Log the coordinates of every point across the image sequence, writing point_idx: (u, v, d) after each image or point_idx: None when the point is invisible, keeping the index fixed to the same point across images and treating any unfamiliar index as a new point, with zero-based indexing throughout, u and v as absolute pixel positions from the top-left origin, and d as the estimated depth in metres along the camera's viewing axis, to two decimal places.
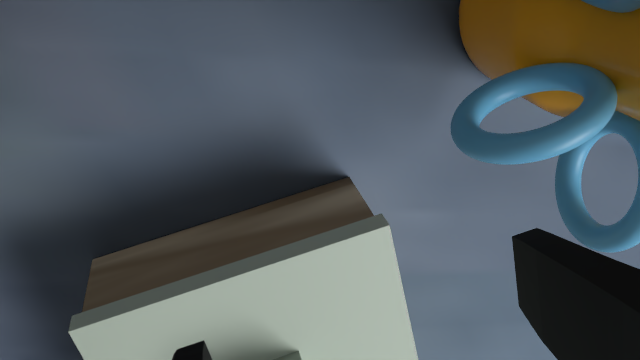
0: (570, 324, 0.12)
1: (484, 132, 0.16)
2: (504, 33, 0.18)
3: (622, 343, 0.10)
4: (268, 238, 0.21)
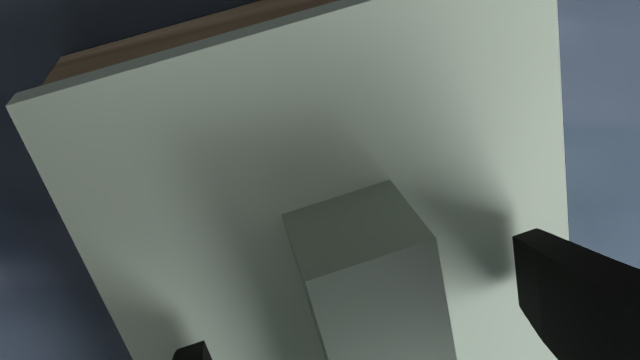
0: (569, 324, 0.12)
1: None
2: None
3: (622, 343, 0.10)
4: None
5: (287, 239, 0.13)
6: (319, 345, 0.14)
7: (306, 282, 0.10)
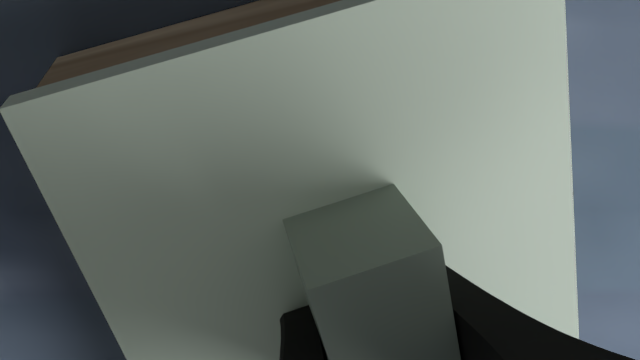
0: None
1: None
2: None
3: None
4: None
5: (288, 244, 0.13)
6: None
7: (308, 290, 0.10)
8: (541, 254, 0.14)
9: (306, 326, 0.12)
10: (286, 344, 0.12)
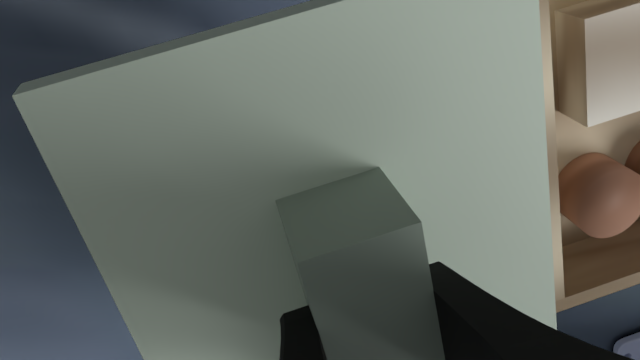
0: None
1: None
2: None
3: None
4: None
5: (281, 224, 0.13)
6: None
7: (298, 263, 0.11)
8: (519, 234, 0.15)
9: (306, 326, 0.12)
10: (286, 344, 0.12)
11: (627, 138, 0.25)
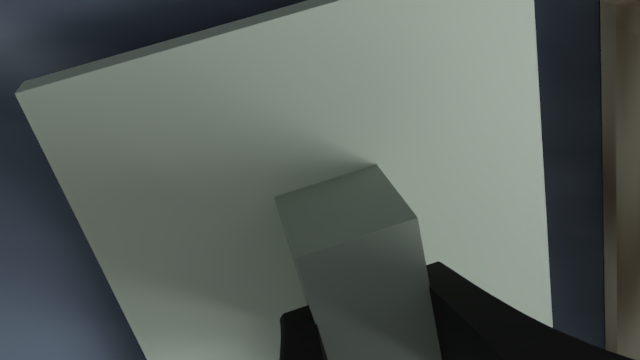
0: None
1: None
2: None
3: None
4: None
5: (279, 220, 0.14)
6: None
7: (296, 258, 0.11)
8: (515, 231, 0.15)
9: (306, 326, 0.12)
10: (286, 344, 0.12)
11: None
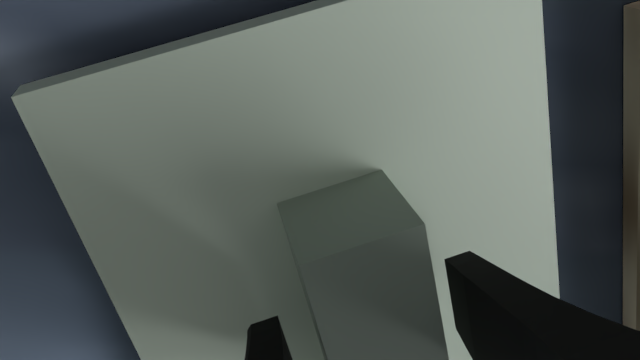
0: (495, 351, 0.12)
1: None
2: None
3: None
4: None
5: (282, 227, 0.13)
6: (314, 331, 0.15)
7: (300, 265, 0.11)
8: (523, 238, 0.15)
9: (271, 338, 0.12)
10: (250, 356, 0.11)
11: None
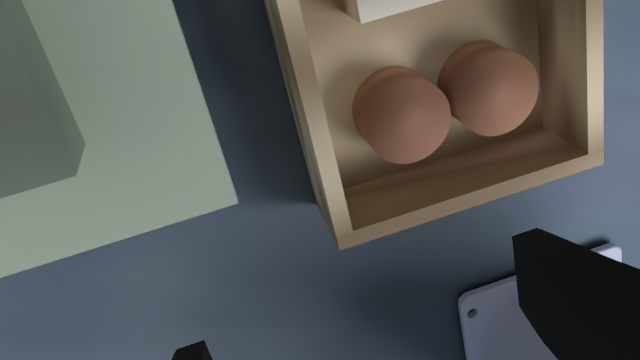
0: (570, 324, 0.12)
1: None
2: None
3: (622, 343, 0.10)
4: None
5: None
6: None
7: None
8: (149, 26, 0.18)
9: None
10: None
11: (435, 49, 0.22)
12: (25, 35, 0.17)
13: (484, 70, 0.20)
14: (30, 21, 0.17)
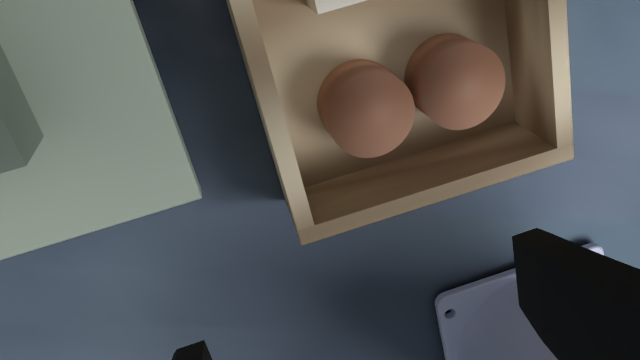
0: (570, 324, 0.12)
1: None
2: None
3: (622, 343, 0.10)
4: None
5: None
6: None
7: None
8: (105, 17, 0.18)
9: None
10: None
11: (401, 42, 0.21)
12: None
13: (447, 62, 0.20)
14: None
